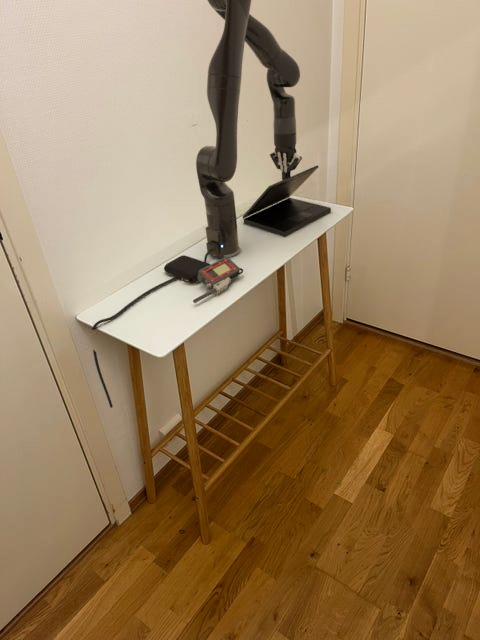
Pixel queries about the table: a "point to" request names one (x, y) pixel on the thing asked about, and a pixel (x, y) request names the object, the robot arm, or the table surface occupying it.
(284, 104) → the robot arm
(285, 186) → the laptop screen
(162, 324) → the table surface
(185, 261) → the carrying case
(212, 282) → the grey red handheld meter
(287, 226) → the laptop
